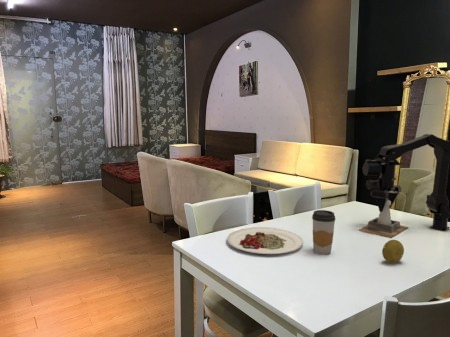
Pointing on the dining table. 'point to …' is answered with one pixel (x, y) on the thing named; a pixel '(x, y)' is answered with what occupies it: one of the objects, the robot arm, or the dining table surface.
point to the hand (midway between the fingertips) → (385, 209)
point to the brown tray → (383, 228)
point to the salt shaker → (385, 215)
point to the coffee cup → (323, 231)
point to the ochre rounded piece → (393, 251)
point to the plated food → (265, 240)
